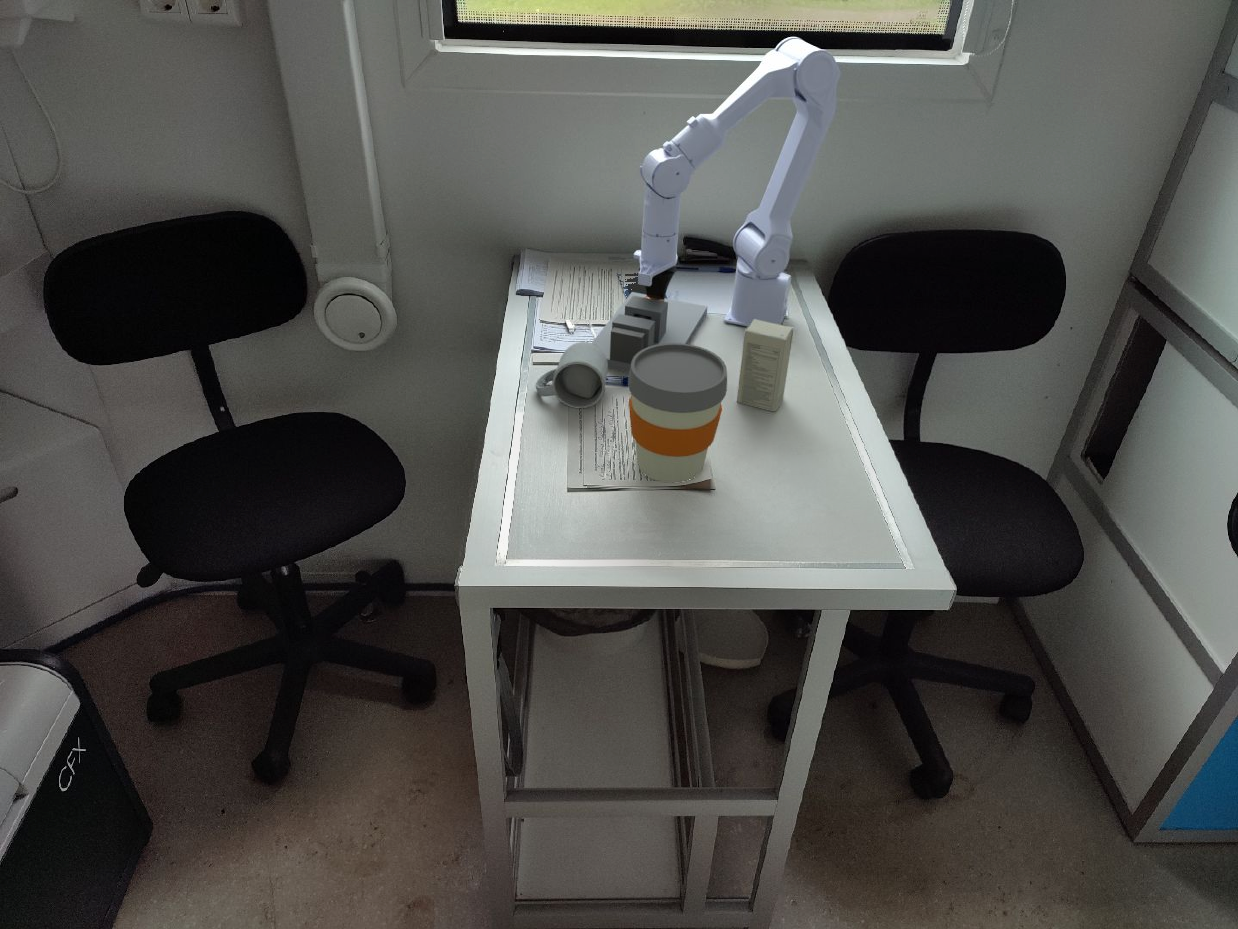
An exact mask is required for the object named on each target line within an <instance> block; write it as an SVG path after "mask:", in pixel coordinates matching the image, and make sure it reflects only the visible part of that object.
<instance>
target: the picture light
mask: <svg viewBox="0 0 1238 929" xmlns="http://www.w3.org/2000/svg"><path fill="white" fill-rule="evenodd" d="M586 319H587V318H586ZM586 319H585V317H584V316H579V317H577V318H576V320H575V321H574V323H573V324H572V322H571V320H570V319H565V320H564V322H565V321H566V326H567V328H568V331H569V334H571V333H572V334H575V330H576V329H577V327H576V326H577V325H578V323H579V322H581V321H585V322H586V321H588V322H589V326H588V328H589V331H590V332H591V331H592V333H591V335H592V334H593V335H592V336H594V337H593V339H594V338H596V337H597V336H598V335H597V333H596V331H595V329H594V327H593V324H592V323H591V321H590V319H589V318H588V319H589V320H588V319H587V320H586ZM577 320H578V321H577ZM594 331H595V332H594Z"/></svg>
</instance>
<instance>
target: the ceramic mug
mask: <svg viewBox="0 0 1238 929" xmlns="http://www.w3.org/2000/svg"><path fill="white" fill-rule="evenodd" d="M608 371H609V368H608V363H607V358H606V356H605V354H604V352H603V351H602V350H601V349H600V348H599V347H598V346H596V345H594V344H592V342H589V341H588V342H587V341H580V342H576V343H574V344H572V345H570V346H569V347H568V348H567V349H565V350H564V352H563V353H562V355H561V357H560V360H559V362H558V365H557V366H556V368H554V369H552V370H550V371H547V372H545V373H544V374H543V375H541V376H540V377H539V378H538V379H537V381H536V382H535V389H536V391H537V392H538V394H539V395H540V396H541V397H552V396H555V397H556V398H557V399H558V400H559V401H560V402H561V403H562V404H564V405H565V406H568V407H571V408H574V409H586V408H590V407H593V406H594V405H596V404H597V403H599V402H600V401H601V399H602V397H603V395H604V392H605V389H606V383H607V377H608ZM550 382H552V384H551V385H548V384H549V383H550ZM546 385H547V386H546Z"/></svg>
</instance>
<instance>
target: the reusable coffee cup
mask: <svg viewBox="0 0 1238 929" xmlns="http://www.w3.org/2000/svg"><path fill="white" fill-rule="evenodd" d="M627 387H628V391H629V392H630V397H629V398H628V400H629V401H628V410H629V420H630V432H631V435H632V438H633V440H634V443H635V452H636V455H635V456H636V463H637V466H638V468H639V470H640V471H641V473H643V474H644V475H645V476H647V477H648V478H650V479H652V480H654V481H657V482H661V483H662V482H663V483H666V482H672V483H671V484H676V483H675V482H680V483H683V482H682V481H685V482H688V481H690V480H689V479H691V480H693V479H694V477H695V478H696V477H698V476H699V475H700V474H701V472H702V470H703V468H704V464H705V460H706V457H707V454H708V450H709V447H711V445H712V444H713V442H714V440H715V437H716V434H717V430H718V426H719V423H720V420H721V416H722V412H723V407H722V401H723V400H724V399H725V397H726V395H727V390H728V389H727V388H728V370H727V365H726V363H725V361H724V360H723V359H722V358H721V357H720V356H719V355H717V354H716V353H715V352H713V351H711V350H708V349H707V348H704V347H701V346H697V345H694V344H690V343H689V344H683V343H664V344H657V345H653V346H650V347H647V348H645V349H643V350H641V351H640V352H638V353H637V354H636V355H635V356H634V357H633V359H632V362H631V367H630V372H628V378H627ZM687 480H688V481H687Z"/></svg>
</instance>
